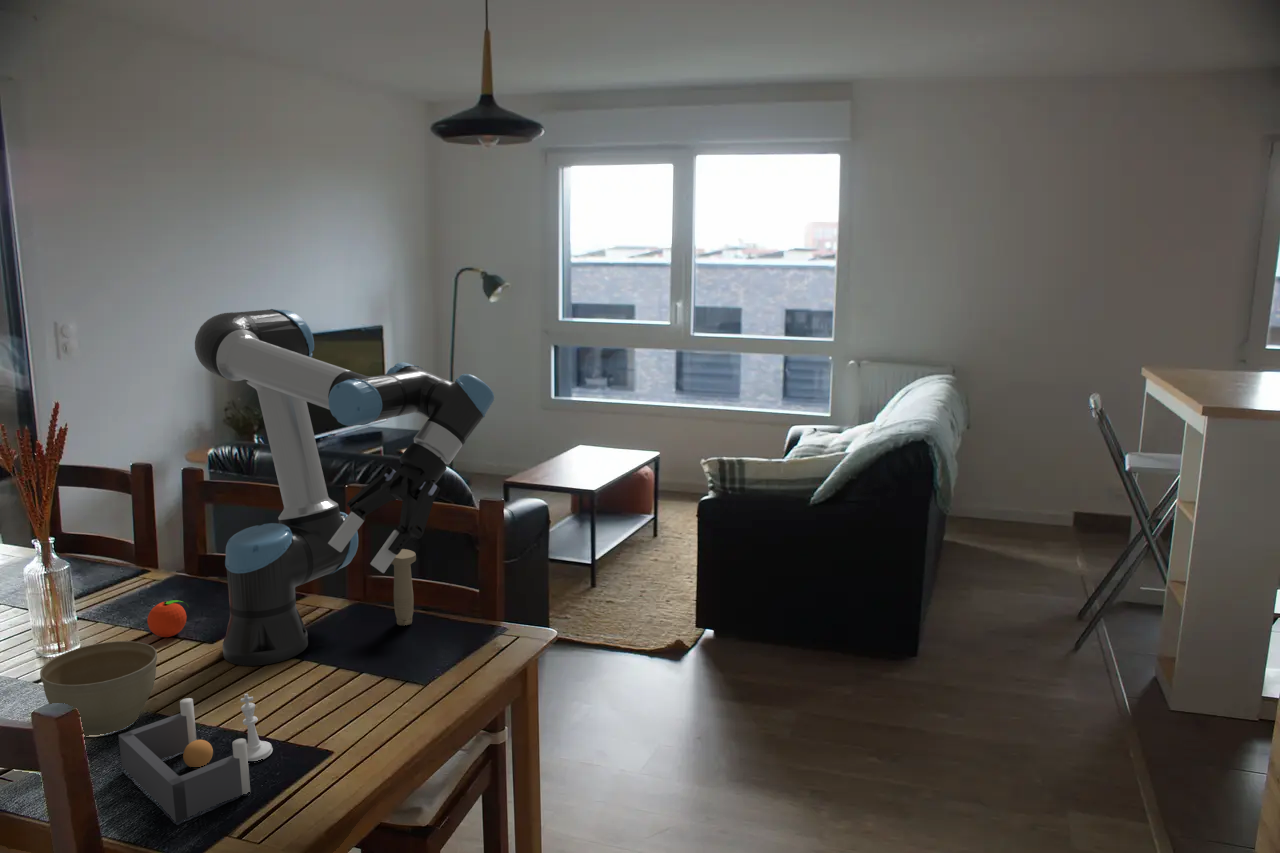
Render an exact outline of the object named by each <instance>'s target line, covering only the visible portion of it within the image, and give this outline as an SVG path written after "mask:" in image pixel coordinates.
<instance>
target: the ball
mask: <svg viewBox="0 0 1280 853" xmlns="http://www.w3.org/2000/svg"><path fill="white" fill-rule="evenodd" d="M213 755H214V750H213V746H212V744H211V743H210V742H209V741H207V740H205V739H197V740H195V741H193V742H191V743H190V744H188V745H187V747H186V748H185V750H184V753H183V755H182V759H183V761H184V762H183V763H184V764H185V765H186V766H188V767H190V768H191V767H200V768H202V767H201V766H203V767H204V765H205V766H207V765H208V764H210V761H211V760H212V758H213ZM207 763H208V764H207Z"/></svg>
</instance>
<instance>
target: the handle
mask: <svg viewBox="0 0 1280 853" xmlns="http://www.w3.org/2000/svg"><path fill="white" fill-rule="evenodd" d="M416 561H417V555H416V552H415V551H413V550H410V549H407V548H406V549H405V548H402V550H401V551H400V553H399V554H398V555H396V557H395V558H394V560H393V561H392V562H391V564H390V565H393V605H394V608H393V609H394V613H395V617H396V624H397V625H398V626H404V627H405V625H406V626H408V625H409V626H410V625H412V624H413V623H412V622H413V615H414V604H415V603H414V602H415V601H414V600H415V599H414V590H413V579H412V578H413V577H412V568H411V566H412V564H413V563H414V562H416Z"/></svg>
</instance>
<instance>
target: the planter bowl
mask: <svg viewBox="0 0 1280 853" xmlns="http://www.w3.org/2000/svg"><path fill="white" fill-rule="evenodd" d="M157 661H158V653H157V650H156V648H155V647H154V646H152V645H151V644H148V643H145V642H140V641H139V642H138V641H133V640H131V641H130V640H115V641H105V642H101V643H94V644H90V645H89V644H88V645H85V646H82V647H77V648H75V649H72V650H69V651H67V652H64V653H61V654H59V655H58V656H56V657H54V658H52V659H50V660H49V661H48V662H46V663H45V664H44V665H43V666H42V668H41V669H40V672H39V676H40V680H41V682H42V685H43V689H44V690H43V691H44V694H45V698H46V700H47V702H48V704H49V705H50V704H52V703H65V704H68V705H70V706H73V707H76V708H77V709H78V711H79V713H80V717H81V722H82V727H83V730H84V735H85V737H84V738H86V736H89V735H100V734H106V733H110V732H113V731H117V730H120V729H123V728H125V727H127V726H129V725H130V724H132V723H133V722H135V721H136V720H137V719H138V720H139V718H140V712H141V710H142V709H143V708H144V706H145V705H146V703H147V701H148V699H149V697H150V696H151V694H152V691H153V688H154V685H155V683H156V682H155V680H156V676H157V675H156V674H157ZM138 717H139V718H138ZM138 720H137V721H138ZM137 721H136V722H137Z"/></svg>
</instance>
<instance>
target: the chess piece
mask: <svg viewBox="0 0 1280 853" xmlns="http://www.w3.org/2000/svg"><path fill="white" fill-rule="evenodd" d="M252 701H254V696H253V695H252V696H249V693H244V697H242V698H240V703H244V704H243V705H241V707H240V710H241V712H242V713H243V715H244V717H245V718H244V719H243V720H242V724H243V725H244V726H247V742H246V743H247V755H248V761H258V760H261V759H263V760H265V759H267V758H268V757H269V756H271V754H272V753H273V750H274V748H273V746H272V743H270V742H268V741H265V740H260V738H259V735H258V732H257V729H256V725H255V724H256V723H257V722H258V720H259V719H258V717H257V716H255V710H256V704H255V703H253V702H252ZM261 761H262V760H261ZM258 762H259V761H258Z"/></svg>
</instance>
